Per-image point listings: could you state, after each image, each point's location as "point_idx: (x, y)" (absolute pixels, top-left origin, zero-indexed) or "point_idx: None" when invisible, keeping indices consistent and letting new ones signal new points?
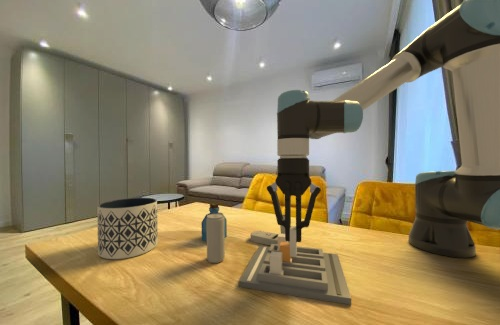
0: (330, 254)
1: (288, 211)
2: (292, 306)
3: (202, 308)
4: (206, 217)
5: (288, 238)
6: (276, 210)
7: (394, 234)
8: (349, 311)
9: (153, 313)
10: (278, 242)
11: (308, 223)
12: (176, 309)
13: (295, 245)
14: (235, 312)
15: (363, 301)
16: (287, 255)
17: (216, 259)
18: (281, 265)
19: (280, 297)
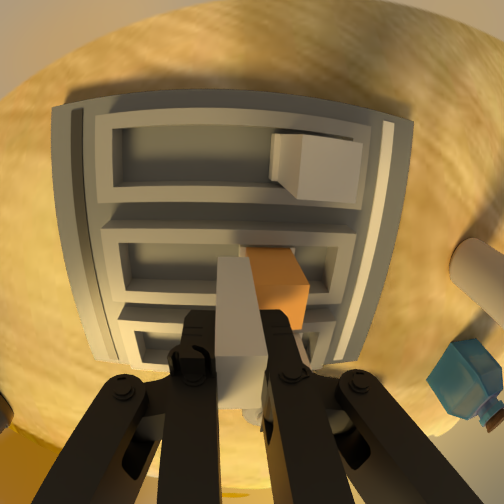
0: (111, 355)
1: (310, 496)
2: (229, 43)
3: (445, 44)
4: (499, 382)
5: (267, 320)
6: (426, 461)
7: (37, 433)
8: (72, 79)
9: (495, 50)
10: (304, 356)
11: (103, 397)
12: (477, 51)
13: (220, 286)
14: (381, 19)
15: (34, 138)
16: (261, 262)
17: (470, 242)
18: (287, 152)
19: (271, 76)
